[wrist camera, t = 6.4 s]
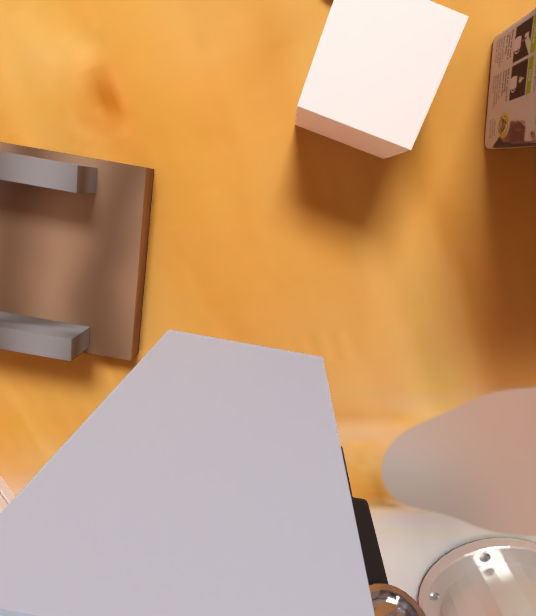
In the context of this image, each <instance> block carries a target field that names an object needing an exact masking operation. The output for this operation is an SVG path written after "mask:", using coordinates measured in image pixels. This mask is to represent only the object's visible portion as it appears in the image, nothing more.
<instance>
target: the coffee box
mask: <svg viewBox="0 0 536 616" xmlns="http://www.w3.org/2000/svg"><path fill="white" fill-rule="evenodd" d="M485 146H486V148H488V149H505V148H520V147H534V146H536V8H535V9H534V10H533V11H531V12H530V13H528V14H527V15H526V16H524V17H523V18H521V19H520V20H519V21H517V22H516V23H514V24H513V25H512V26H510V27H509V28H507V29H506V30H505V31H503V32H502V33H500V34H499V35H497V36H496V37H495V38H494V41H493V51H492V62H491V74H490V84H489V96H488V108H487V119H486V131H485Z"/></svg>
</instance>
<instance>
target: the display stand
mask: <svg viewBox="0 0 536 616" xmlns="http://www.w3.org/2000/svg"><path fill="white" fill-rule="evenodd" d="M153 175H154V169H150V168H144V167H139V166H133V165H127V164H122V163H116V162H110V161H105V160H99V159H93V158H88V157H82V156H76V155H71V154H65V153H60V152H54V151H48V150H43V149H37V148H31V147H26V146H20V145H14V144H9V143H3V142H0V349H3V350H9V351H15V352H21V353H26V354H32V355H38V356H43V357H49V358H55V359H61V360H66V361H72V360H73V359H74V358H75V357H77V356H78V355H79V354H81V353H82V352H83V353H89V354H95V355H100V356H106V357H112V358H118V359H123V360H129V361H131V360H132V359H133V358H134V357H135V356H136V355H137V354H138V350H139V338H140V327H141V315H142V303H143V292H144V280H145V268H146V257H147V245H148V233H149V222H150V210H151V198H152V187H153Z"/></svg>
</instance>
